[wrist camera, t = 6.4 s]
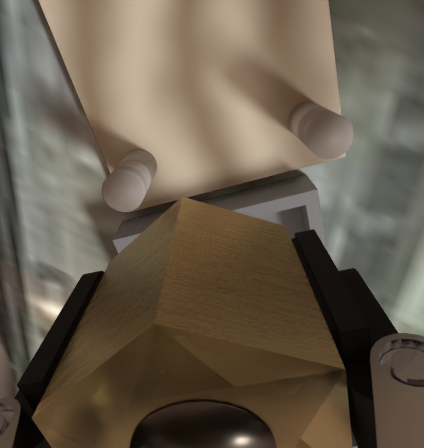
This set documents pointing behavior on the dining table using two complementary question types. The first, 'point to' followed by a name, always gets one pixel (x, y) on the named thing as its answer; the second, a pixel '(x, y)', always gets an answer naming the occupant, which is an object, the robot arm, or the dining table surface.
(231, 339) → the tan faceted piece
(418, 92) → the dining table surface
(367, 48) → the dining table surface
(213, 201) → the tray
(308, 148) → the spacer board
